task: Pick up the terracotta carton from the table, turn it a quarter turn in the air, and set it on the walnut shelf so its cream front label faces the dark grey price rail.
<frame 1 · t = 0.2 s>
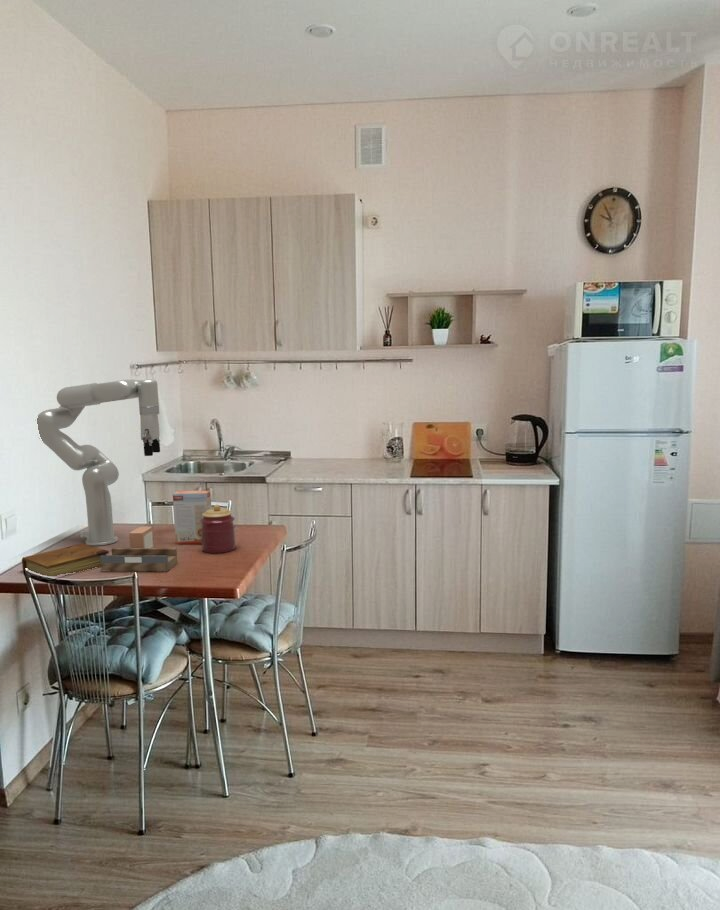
hand: (152, 454, 287), 36 cm above the table, tool pointing down, fingers open, 9 cm apart
diary: (66, 569, 260), on the table
cracker box: (194, 542, 291), on the table
canister: (219, 549, 280), on the table
carton: (142, 555, 274), on the table
shelf: (140, 567, 258), on the table
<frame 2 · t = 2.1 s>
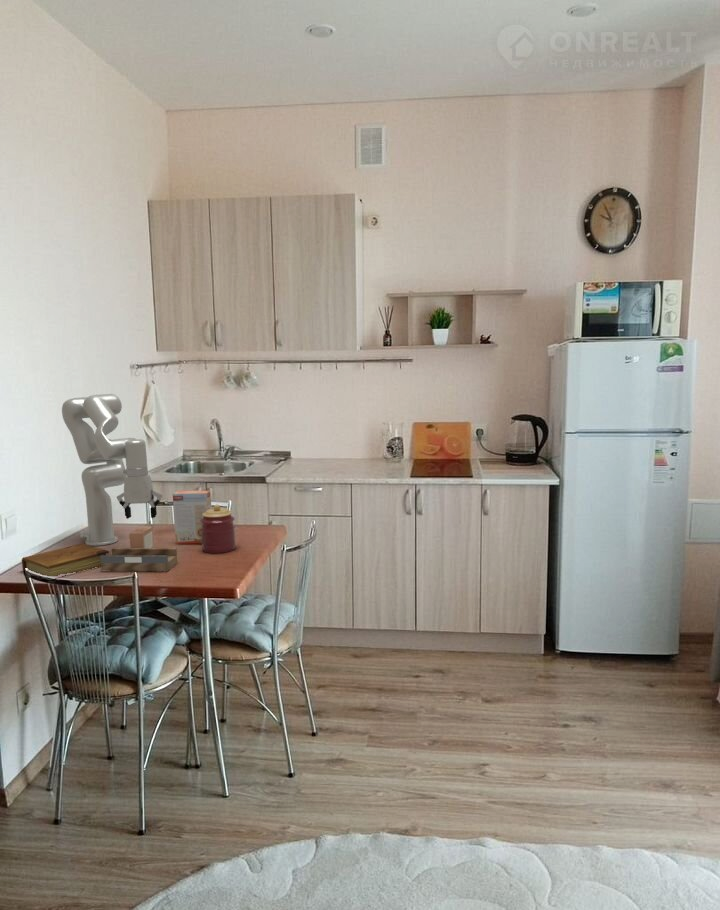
hand: (141, 517, 271), 15 cm above the table, tool pointing down, fingers open, 9 cm apart
nothing on the table moved.
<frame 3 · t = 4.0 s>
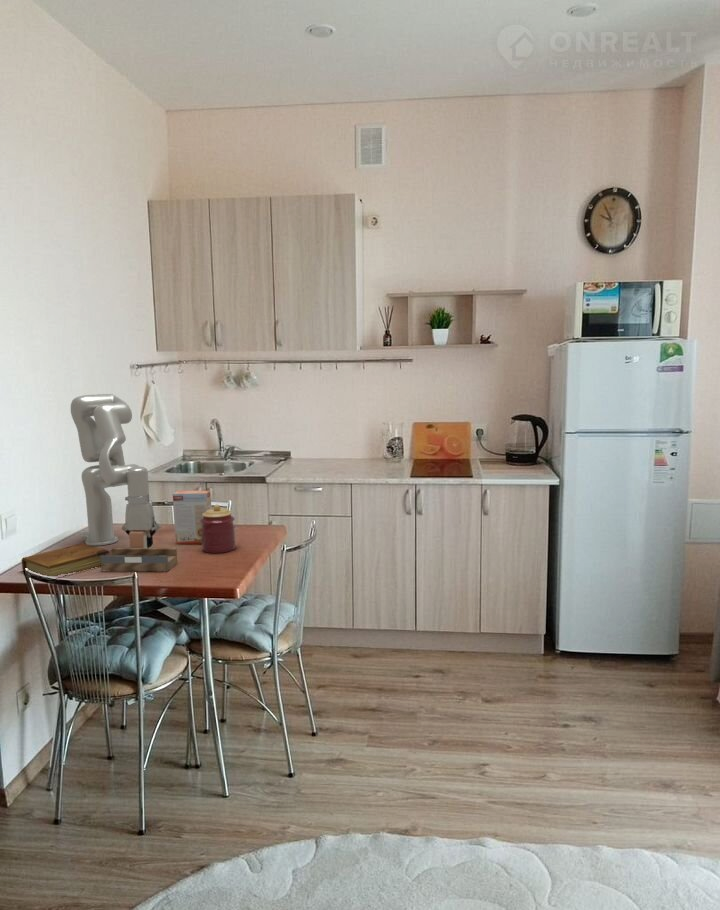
hand: (142, 546, 273), 3 cm above the table, tool pointing down, fingers closed on carton, 5 cm apart
carton: (142, 555, 274), on the table, touching gripper
everything else where it was.
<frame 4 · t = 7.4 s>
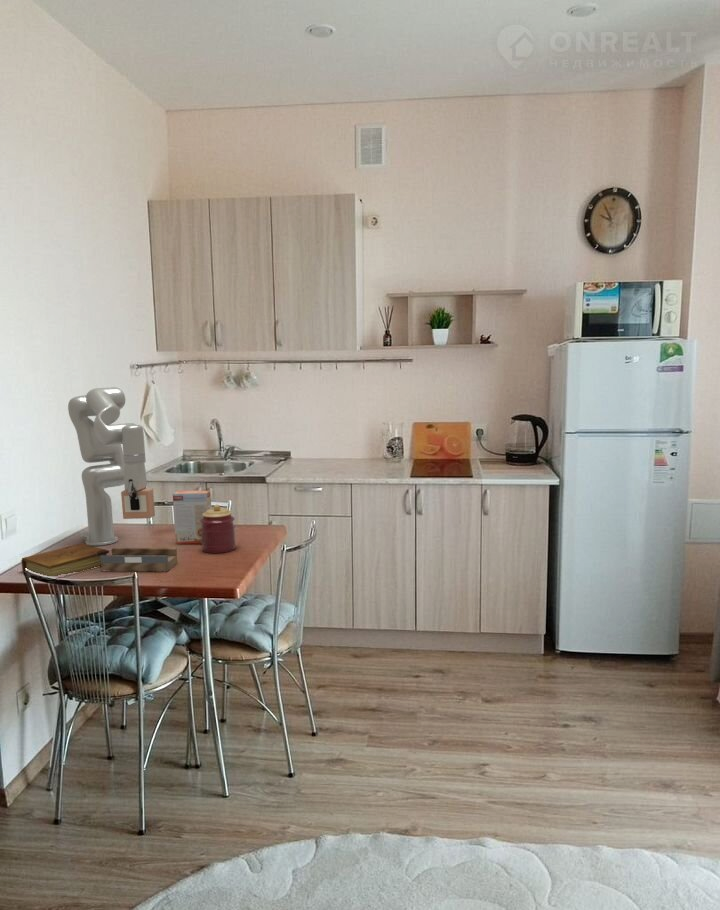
hand: (138, 507, 263), 20 cm above the table, tool pointing down, fingers closed on carton, 5 cm apart
carton: (139, 517, 264), point 17 cm above the table, touching gripper
everything else where it was.
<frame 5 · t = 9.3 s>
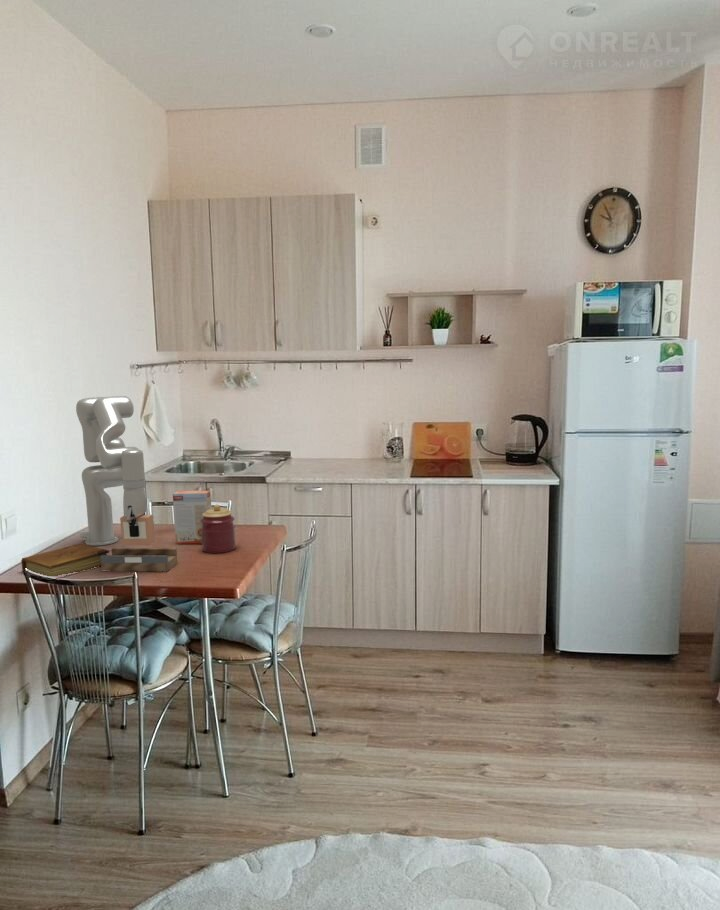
hand: (137, 534, 256), 12 cm above the table, tool pointing down, fingers closed on carton, 5 cm apart
carton: (138, 543, 257), point 9 cm above the table, touching gripper
everything else where it was.
when the fingers open (8 cm above the table, at t = 10.9 s): carton drops 1 cm, resting on shelf.
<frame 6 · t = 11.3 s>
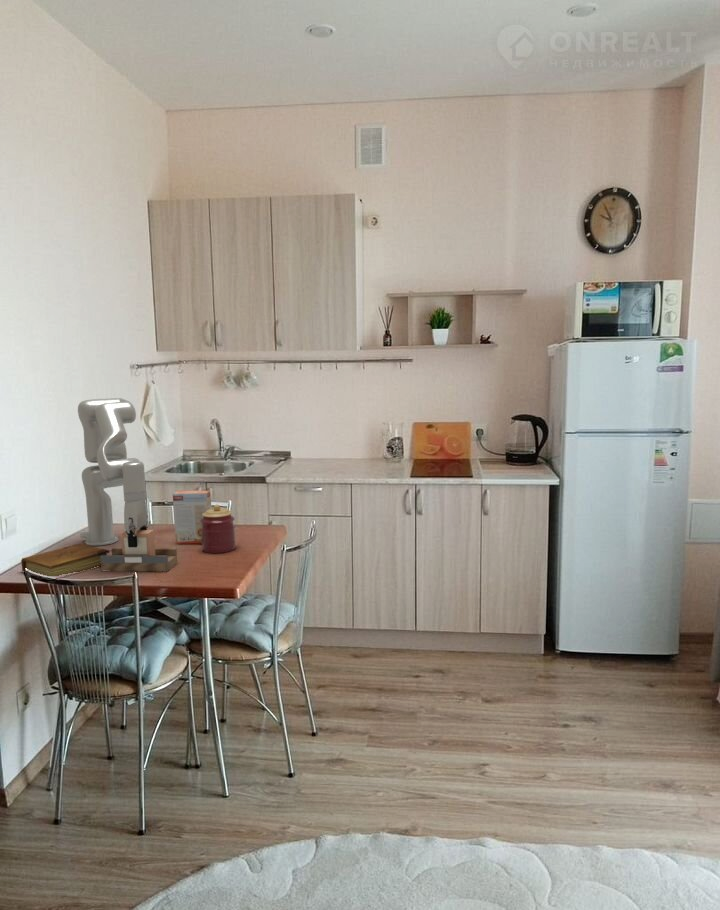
hand: (138, 543, 257), 9 cm above the table, tool pointing down, fingers open, 9 cm apart
carton: (139, 558, 258), point 3 cm above the table, touching shelf
everything else where it was.
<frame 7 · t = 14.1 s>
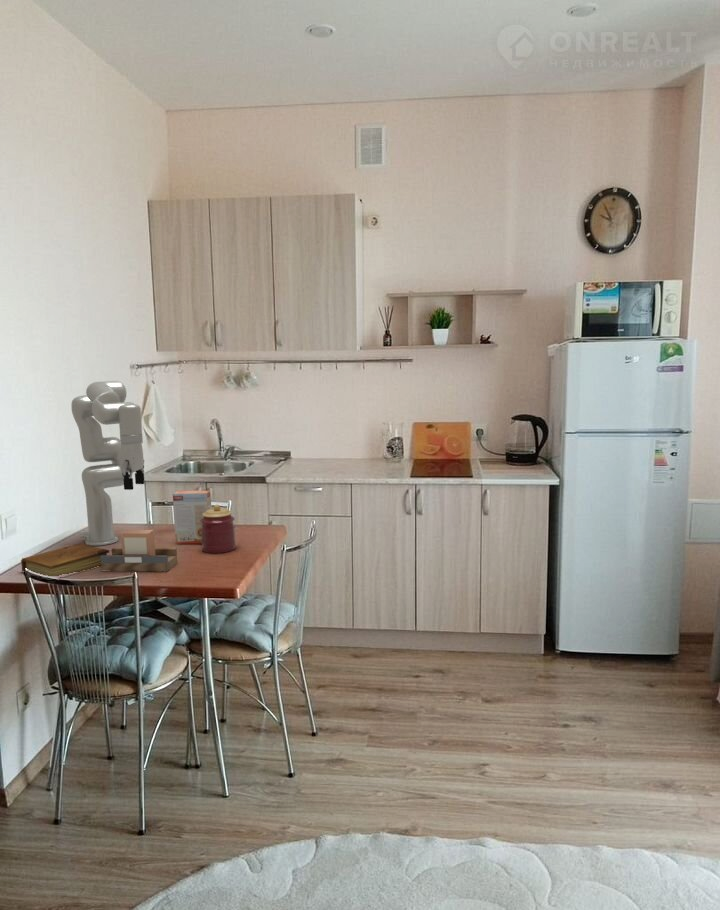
hand: (134, 486, 258), 29 cm above the table, tool pointing down, fingers open, 9 cm apart
nothing on the table moved.
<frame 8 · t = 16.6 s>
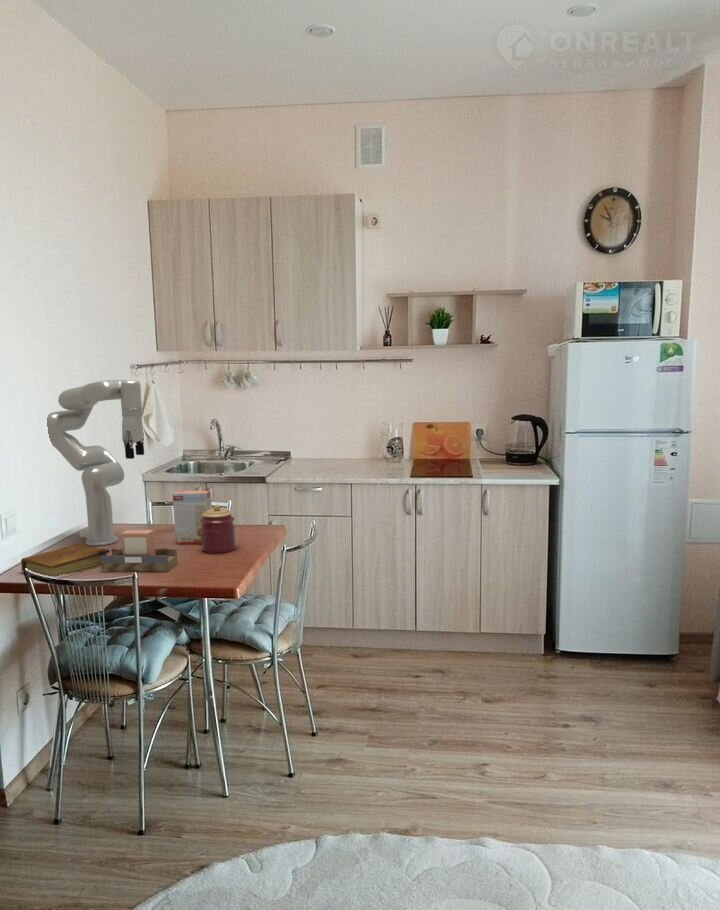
hand: (135, 456, 280), 36 cm above the table, tool pointing down, fingers open, 9 cm apart
nothing on the table moved.
at the end: carton 0.1 cm from the target spot, point 3.0 cm above the table; carton tilted 0°; the gripper is holding nothing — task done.
